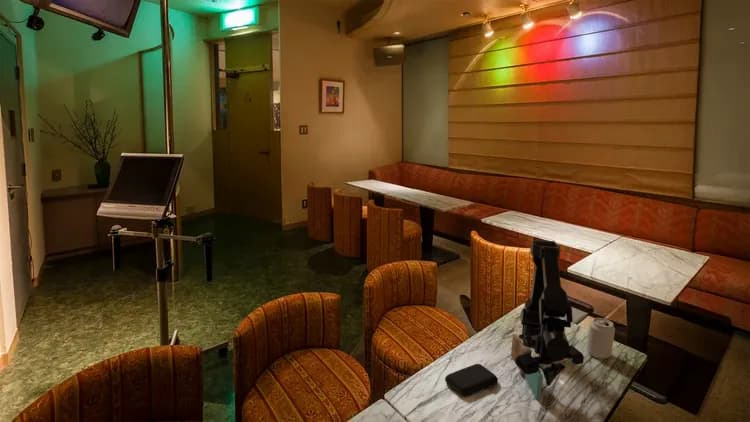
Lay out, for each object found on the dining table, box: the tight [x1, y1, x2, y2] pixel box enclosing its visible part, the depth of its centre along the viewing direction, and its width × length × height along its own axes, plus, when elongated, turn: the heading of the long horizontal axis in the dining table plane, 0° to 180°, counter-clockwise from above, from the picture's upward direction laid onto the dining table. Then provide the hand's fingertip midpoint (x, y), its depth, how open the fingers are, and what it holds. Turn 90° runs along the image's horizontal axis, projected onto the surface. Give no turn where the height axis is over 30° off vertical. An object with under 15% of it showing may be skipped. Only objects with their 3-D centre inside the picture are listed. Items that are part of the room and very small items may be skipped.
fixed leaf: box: [510, 333, 533, 378], centre depth 141 cm, size 12×3×9 cm, turn 3°
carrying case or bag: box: [444, 363, 499, 397], centre depth 133 cm, size 11×3×15 cm
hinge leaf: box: [524, 369, 544, 400], centre depth 132 cm, size 13×3×8 cm, turn 0°
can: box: [586, 317, 616, 360], centre depth 148 cm, size 8×8×12 cm
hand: (547, 384), depth 129 cm, fingers closed
